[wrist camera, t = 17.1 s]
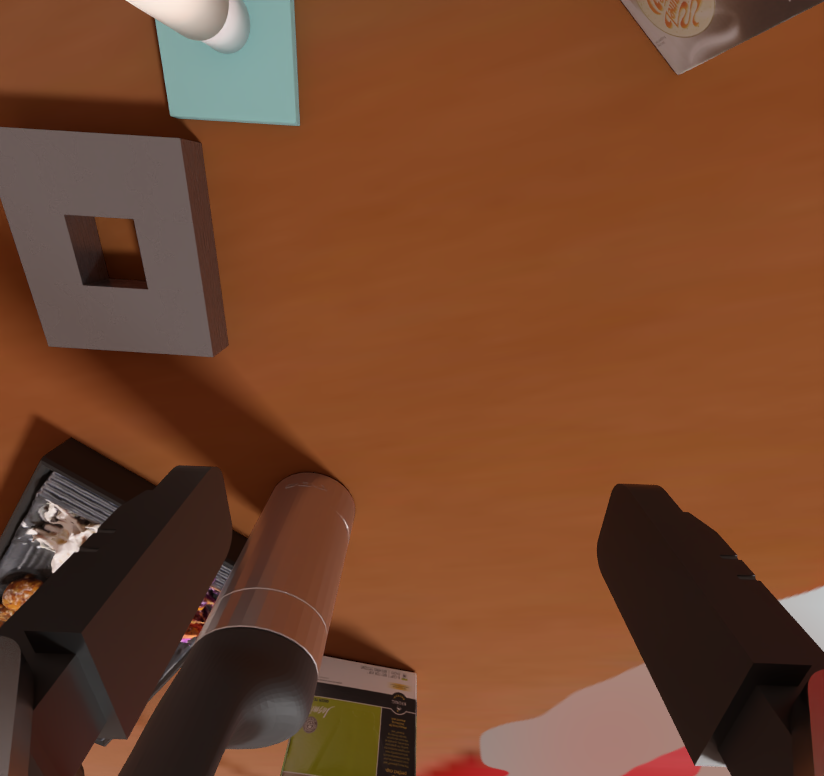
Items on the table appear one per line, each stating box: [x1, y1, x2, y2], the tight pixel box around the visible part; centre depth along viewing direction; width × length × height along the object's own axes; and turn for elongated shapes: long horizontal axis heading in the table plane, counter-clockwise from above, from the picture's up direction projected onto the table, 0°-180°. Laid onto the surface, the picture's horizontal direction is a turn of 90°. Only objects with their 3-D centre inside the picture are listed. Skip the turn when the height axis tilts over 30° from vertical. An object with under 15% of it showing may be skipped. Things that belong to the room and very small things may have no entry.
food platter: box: [0, 438, 248, 747], centre depth 50 cm, size 45×25×10 cm, turn 141°
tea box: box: [280, 656, 417, 776], centre depth 52 cm, size 15×10×15 cm, turn 75°
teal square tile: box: [155, 0, 300, 126], centre depth 28 cm, size 9×9×1 cm
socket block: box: [0, 127, 228, 357], centre depth 33 cm, size 16×14×3 cm
